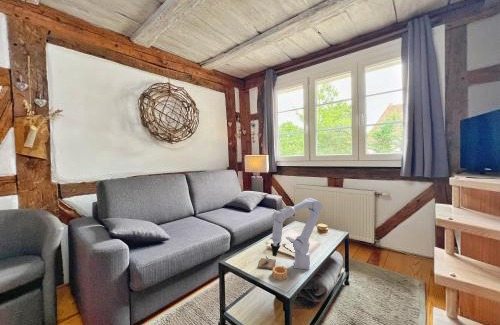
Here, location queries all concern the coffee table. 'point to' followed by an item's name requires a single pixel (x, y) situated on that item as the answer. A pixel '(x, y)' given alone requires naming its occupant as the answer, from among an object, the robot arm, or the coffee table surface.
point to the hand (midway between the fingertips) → (275, 253)
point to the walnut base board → (267, 266)
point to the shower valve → (290, 239)
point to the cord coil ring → (280, 275)
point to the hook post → (267, 259)
